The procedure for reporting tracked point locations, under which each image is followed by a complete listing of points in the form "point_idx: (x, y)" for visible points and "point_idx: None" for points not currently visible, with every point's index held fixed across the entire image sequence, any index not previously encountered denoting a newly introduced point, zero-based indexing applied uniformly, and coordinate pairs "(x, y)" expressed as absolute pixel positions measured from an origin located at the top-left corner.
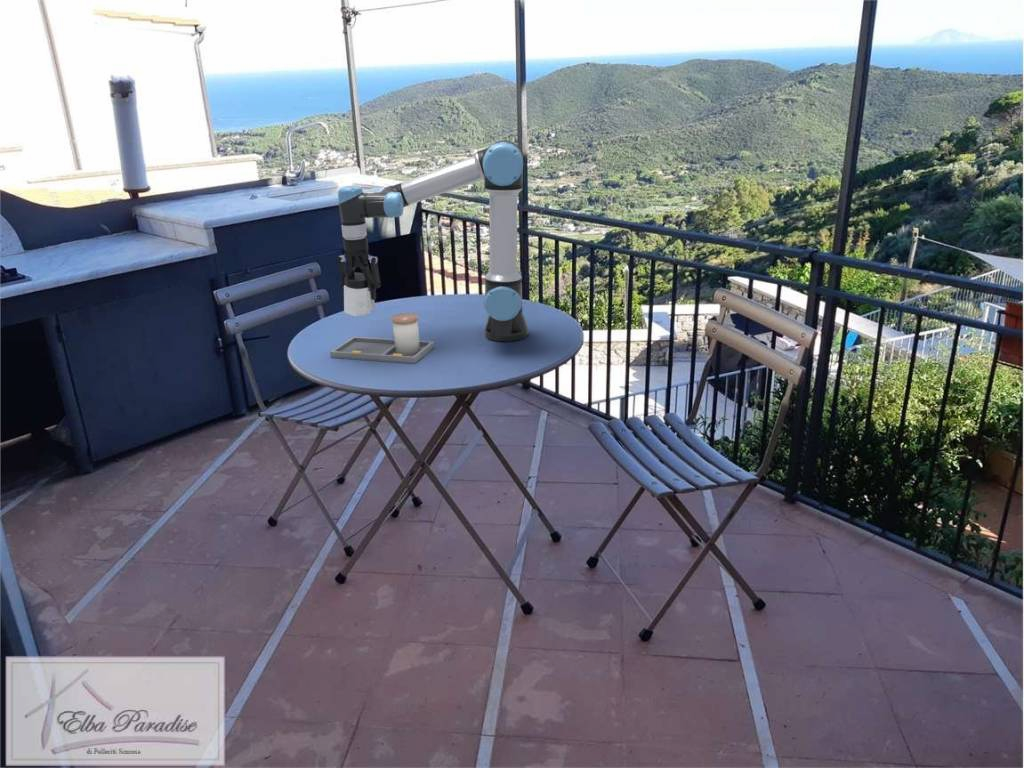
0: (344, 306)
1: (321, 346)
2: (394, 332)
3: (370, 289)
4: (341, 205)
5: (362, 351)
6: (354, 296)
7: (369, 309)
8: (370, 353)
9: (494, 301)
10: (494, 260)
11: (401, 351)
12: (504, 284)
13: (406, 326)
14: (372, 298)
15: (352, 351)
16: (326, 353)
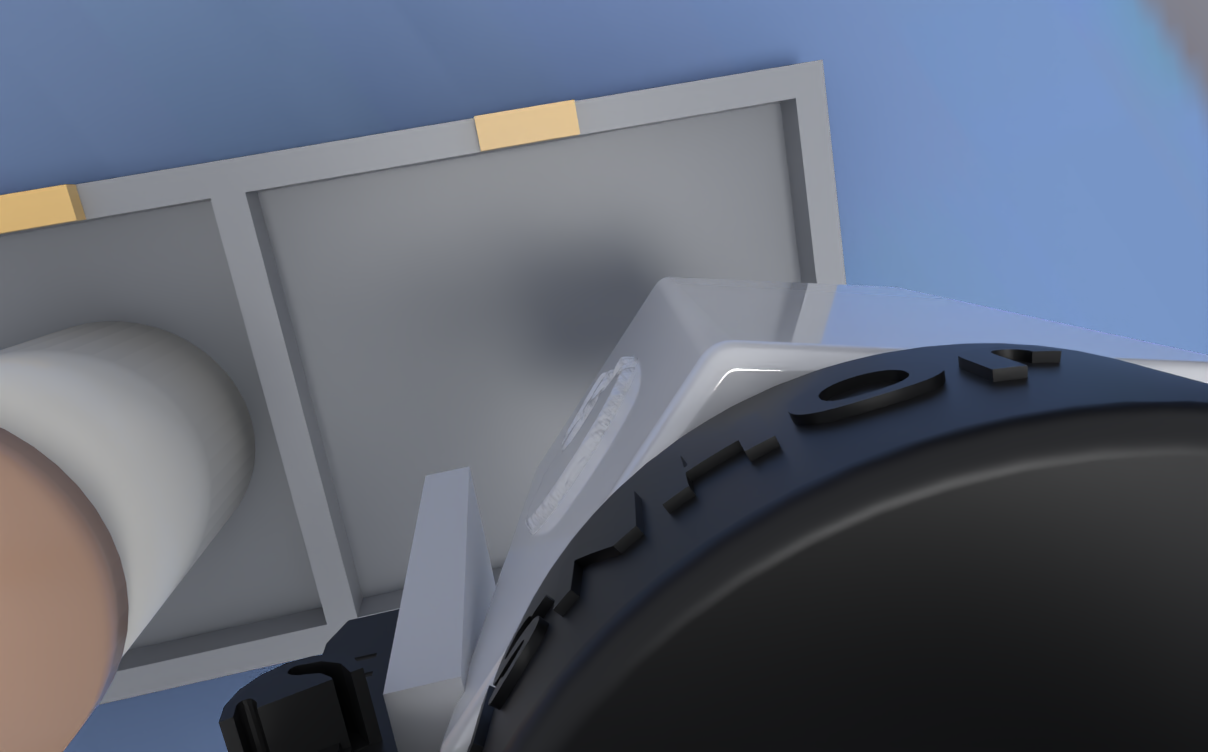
0: (937, 296)
1: (1062, 302)
2: (70, 393)
3: (271, 695)
4: None
5: (586, 293)
6: (706, 313)
7: (466, 473)
8: (471, 274)
9: None
10: None
11: (72, 330)
12: None
13: None
14: (381, 626)
15: (570, 107)
16: (909, 158)
